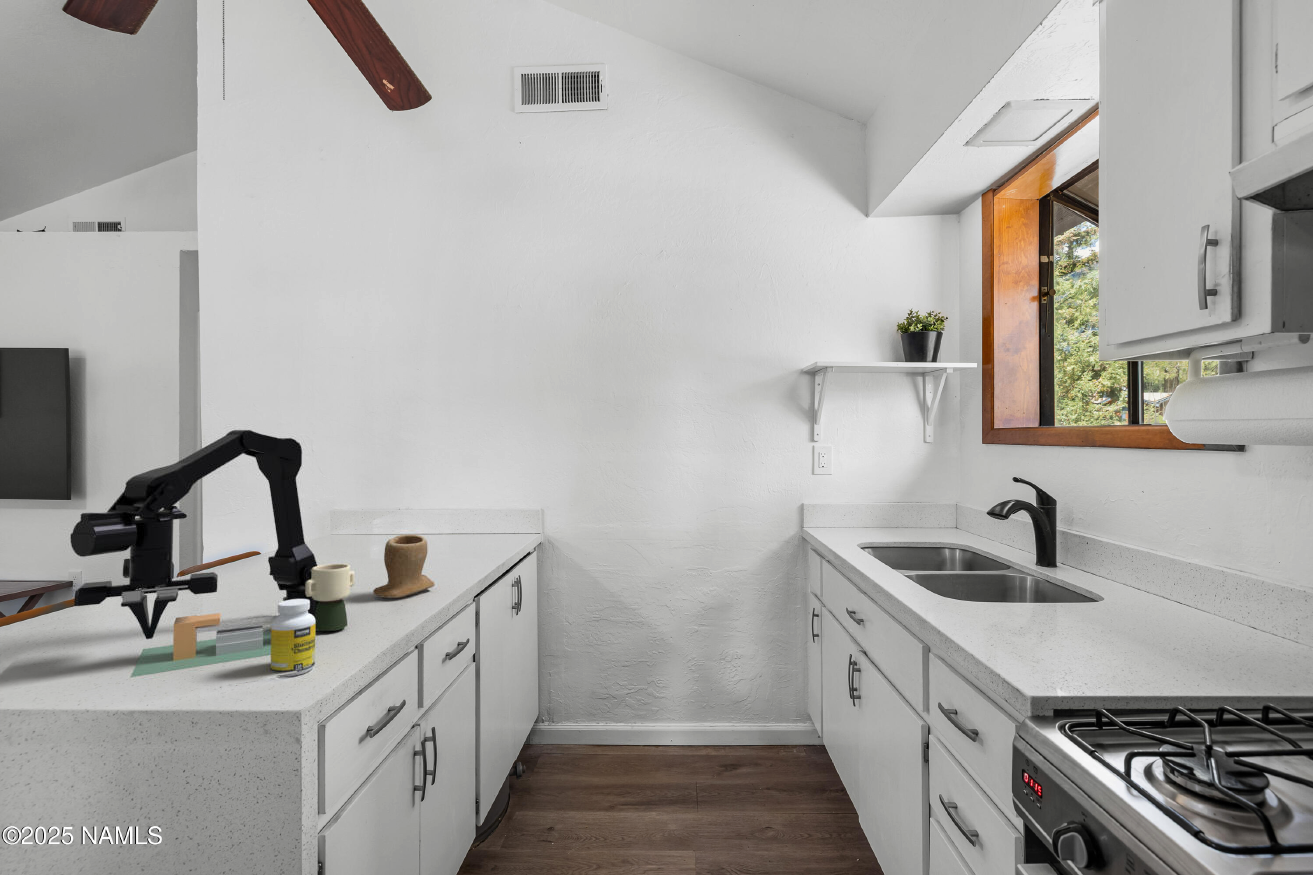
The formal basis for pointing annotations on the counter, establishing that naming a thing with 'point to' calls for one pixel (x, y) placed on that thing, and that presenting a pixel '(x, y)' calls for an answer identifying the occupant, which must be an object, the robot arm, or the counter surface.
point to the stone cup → (404, 566)
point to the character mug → (330, 594)
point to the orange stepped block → (189, 634)
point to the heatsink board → (208, 651)
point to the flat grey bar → (237, 624)
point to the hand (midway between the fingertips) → (149, 638)
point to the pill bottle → (293, 638)
